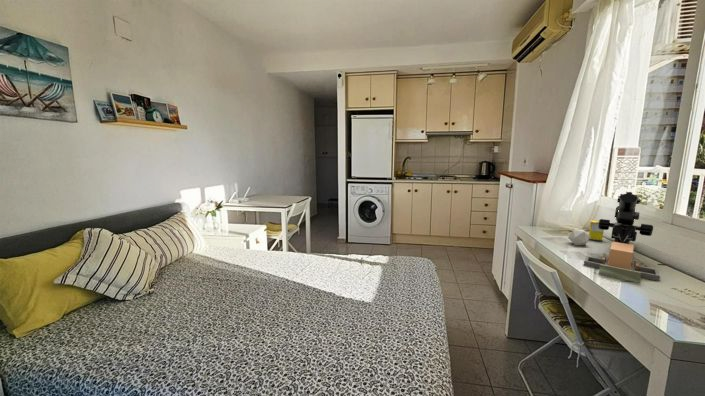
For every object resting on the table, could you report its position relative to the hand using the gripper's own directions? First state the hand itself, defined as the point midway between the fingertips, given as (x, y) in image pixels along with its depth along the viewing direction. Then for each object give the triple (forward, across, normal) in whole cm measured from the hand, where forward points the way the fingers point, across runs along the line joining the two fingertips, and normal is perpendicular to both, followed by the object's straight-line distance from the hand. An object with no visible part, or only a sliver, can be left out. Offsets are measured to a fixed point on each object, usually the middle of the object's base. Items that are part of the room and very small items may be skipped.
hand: (622, 241), depth 133 cm
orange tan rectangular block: (+15, 0, -3) cm, 15 cm away
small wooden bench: (+18, 0, -6) cm, 18 cm away
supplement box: (-16, -11, +29) cm, 35 cm away
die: (-4, -17, +16) cm, 24 cm away
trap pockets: (+19, 0, -7) cm, 20 cm away
